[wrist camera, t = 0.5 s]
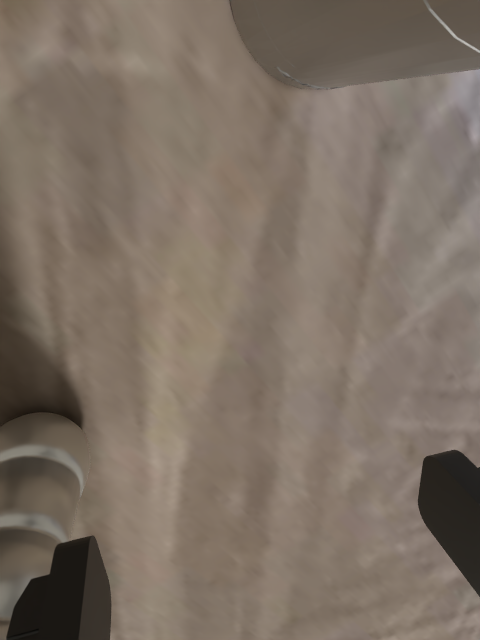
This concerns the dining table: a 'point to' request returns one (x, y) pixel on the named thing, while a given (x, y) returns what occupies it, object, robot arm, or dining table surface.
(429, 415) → the dining table surface
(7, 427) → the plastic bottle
